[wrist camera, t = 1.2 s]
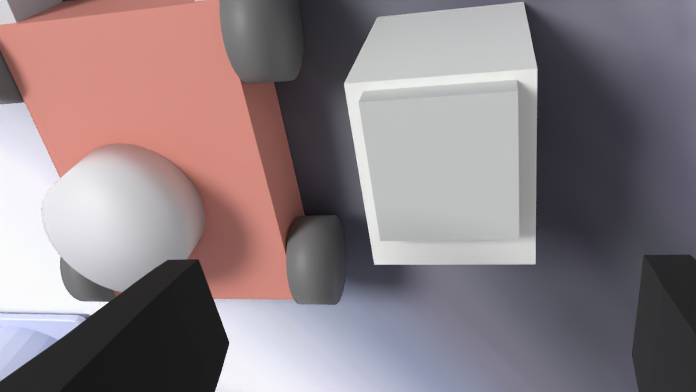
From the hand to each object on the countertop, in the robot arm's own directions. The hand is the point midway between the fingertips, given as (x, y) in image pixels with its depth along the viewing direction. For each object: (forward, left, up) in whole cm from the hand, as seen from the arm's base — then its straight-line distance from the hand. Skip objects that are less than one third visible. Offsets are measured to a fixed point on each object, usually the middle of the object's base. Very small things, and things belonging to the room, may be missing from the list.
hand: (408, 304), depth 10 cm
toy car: (+2, +9, -9) cm, 13 cm away
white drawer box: (0, 0, -10) cm, 10 cm away
